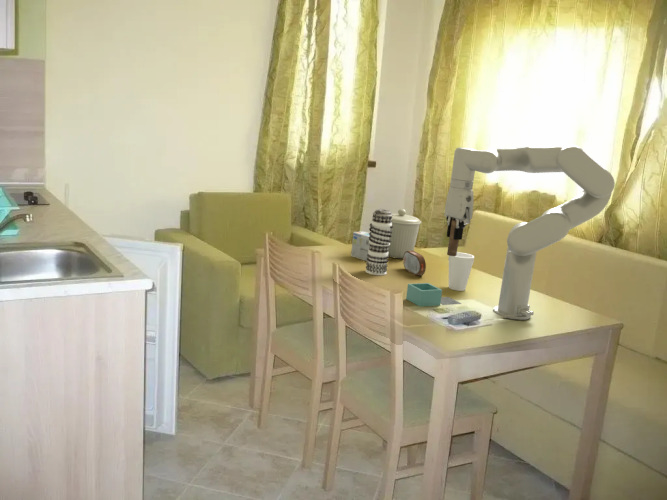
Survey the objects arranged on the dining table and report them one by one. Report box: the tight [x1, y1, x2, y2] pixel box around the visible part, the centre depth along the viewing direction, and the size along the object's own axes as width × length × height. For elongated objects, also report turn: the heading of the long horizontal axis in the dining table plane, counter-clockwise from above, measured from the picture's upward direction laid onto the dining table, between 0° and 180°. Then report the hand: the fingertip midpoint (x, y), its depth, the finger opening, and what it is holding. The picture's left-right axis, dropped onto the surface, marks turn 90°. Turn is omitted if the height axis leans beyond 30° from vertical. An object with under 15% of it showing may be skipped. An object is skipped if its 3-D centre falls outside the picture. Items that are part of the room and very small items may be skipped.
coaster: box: [440, 296, 463, 306], centre depth 243 cm, size 8×8×1 cm
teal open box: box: [405, 282, 443, 307], centre depth 238 cm, size 8×8×6 cm
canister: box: [388, 208, 422, 259], centre depth 306 cm, size 18×18×21 cm
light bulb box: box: [350, 231, 370, 262], centre depth 296 cm, size 11×7×11 cm, turn 43°
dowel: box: [446, 220, 462, 257], centre depth 238 cm, size 3×3×12 cm
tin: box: [402, 250, 427, 277], centre depth 280 cm, size 15×3×8 cm, turn 22°
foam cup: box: [447, 251, 475, 292], centre depth 262 cm, size 10×9×13 cm
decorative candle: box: [365, 208, 393, 276], centre depth 272 cm, size 9×9×25 cm
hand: (454, 237), depth 238 cm, fingers closed on dowel, 3 cm apart
